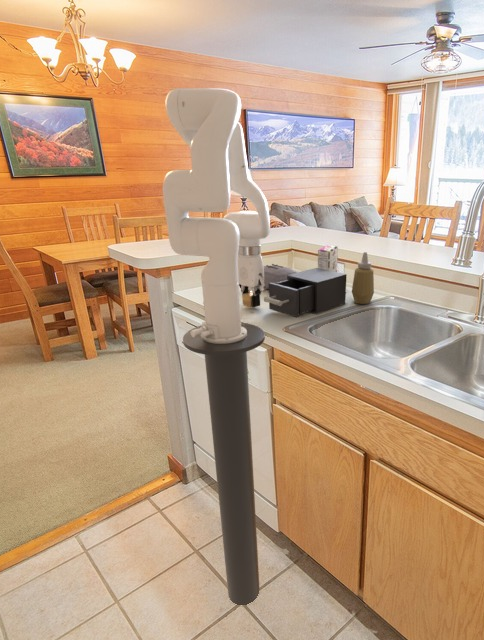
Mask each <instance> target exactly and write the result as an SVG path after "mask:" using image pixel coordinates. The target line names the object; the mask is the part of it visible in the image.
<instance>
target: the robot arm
mask: <svg viewBox="0 0 484 640" xmlns="http://www.w3.org/2000/svg"><path fill="white" fill-rule="evenodd" d="M165 112H166V115H167V118H168V120H169V122H170V124H171V125H172V127H173V128H174V130H175V131H176V132H177V133H178V135H179V136H180V138H182V140H183V141H184V143H185V145H187V147H188V148H189V149H190V152H189V153H190V161H191V162H190V163H191V169H173V170H171V171H169V172H167V173H166V175H165V176H164V179H163V183H162V202H163V207H164V213H165V215H164V216H165V221H166V228H167V236H168V240H169V243H170V244H169V245H170V247H171V250H172V251H173V252H174V253H176V254H177V255H180V256H190V257H191V256H193V257H195V256H196V257H206V258H209V260H208V261H207V263H206V264H205V266H204V267H203V268H202V271H201V277H200V279H201V288H202V298H203V309H204V320H205V321H203V322H202V323H201V324H202V325H200V326H201V327H200V328H199V329H195V330H191V329H190V330H191V336H192V337H197V336H200V335H201V338H202V339H203V340H204V341H206V342H209V343H214V344H228V343H234V342H238V341H240V340H242V339H244V338H245V337H246V336H247V330H246V329H245V328H244V327H242V326H241V323H242V317H241V301H240V300H241V299H243V294H245V293H249V292H253V295H252V307H251V308H256V307H259V306H261V294H262V292H263V291H265V290H267V289H266V286H265V284H264V268H263V266H264V261H263V257H262V248H261V247H262V245H261V239H262V240H263V239H266V238H267V237H268V236H269V235H270V232H271V219H270V218H271V217H270V211H269V204H268V201H267V198H266V196H265V194H264V193H263V191H262V189H260V187H259V186H258V185H257V183H256V182H254V181H253V179H251V177H250V173H249V172H250V171H249V166H248V165H249V164H248V158H247V152H246V144H245V137H244V136H245V135H244V130H243V126H242V124H241V123H240V122H239V120H240V118H241V113H242V102H241V98H240V95H239V94H238V93H237V92H235V91H234V90H231V89H227V88H216V87H215V88H214V87H205V88H204V87H200V88H197V87H196V88H193V87H191V88H190V87H180V88H173V89H171V90H170V91H169V92H168V93H167V95H166V98H165ZM231 191H232V192H233V193H236V194H238V195H240V196H242V197H244V198H246V199H247V200H248V201H250V203H252V204H253V206H254V207H255V208H256V211H254V210H241V211H237V212H235V211H231V212H228V213H226V214H225V215H223V217H208V216H207V217H206V216H202V217H200V216H199V217H198V216H197V217H196V216H190V215H189V213H222V212H225V211H227V210H228V209H229V207H230V205H231ZM250 288H251V291H250ZM240 292H241V295H242V296H241V297H242V298H241V299H240Z"/></svg>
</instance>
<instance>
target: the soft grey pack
mask: <svg viewBox="0 0 484 640" xmlns="http://www.w3.org/2000/svg"><path fill="white" fill-rule="evenodd" d="M263 268H264V284H265V286H266V289H265V290H269V283H275V284H276V283H277V282H281V281H285V280H287V275H290V274H294V273H298V272H297V271H296V270H294V269H292V268H290V267H287V266H283V265H278V264H274V263H271V265H270V264H269V265H268V264H267V265H263Z"/></svg>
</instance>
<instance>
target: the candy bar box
mask: <svg viewBox="0 0 484 640" xmlns="http://www.w3.org/2000/svg"><path fill="white" fill-rule="evenodd" d="M338 256H339V246H338V245H330V244H327V245H325V246H323V247H321V248H320V249H318V250H317V268H320V269H325V270H329V271H334V272H338V259H339V258H338Z"/></svg>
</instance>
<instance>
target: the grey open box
mask: <svg viewBox="0 0 484 640" xmlns="http://www.w3.org/2000/svg"><path fill="white" fill-rule="evenodd" d="M347 275H348V274H347V273H342V272H338V271H337V272H334V271H329V270H325V269H320V268H318V267H314V268H310V269H307V270H302V271H298V272H297V273H294V274H290V275H287V280H289V279H295V280H299V281H303V282H307V283H311V284H315V309H313V310H310V311H307V312H308V313H312V314H315V315H318V314H321V313H323V312H326V311H329V310H332V309H335V308H337V307H340V306H343V305H346V297H347V277H348V276H347Z"/></svg>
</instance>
